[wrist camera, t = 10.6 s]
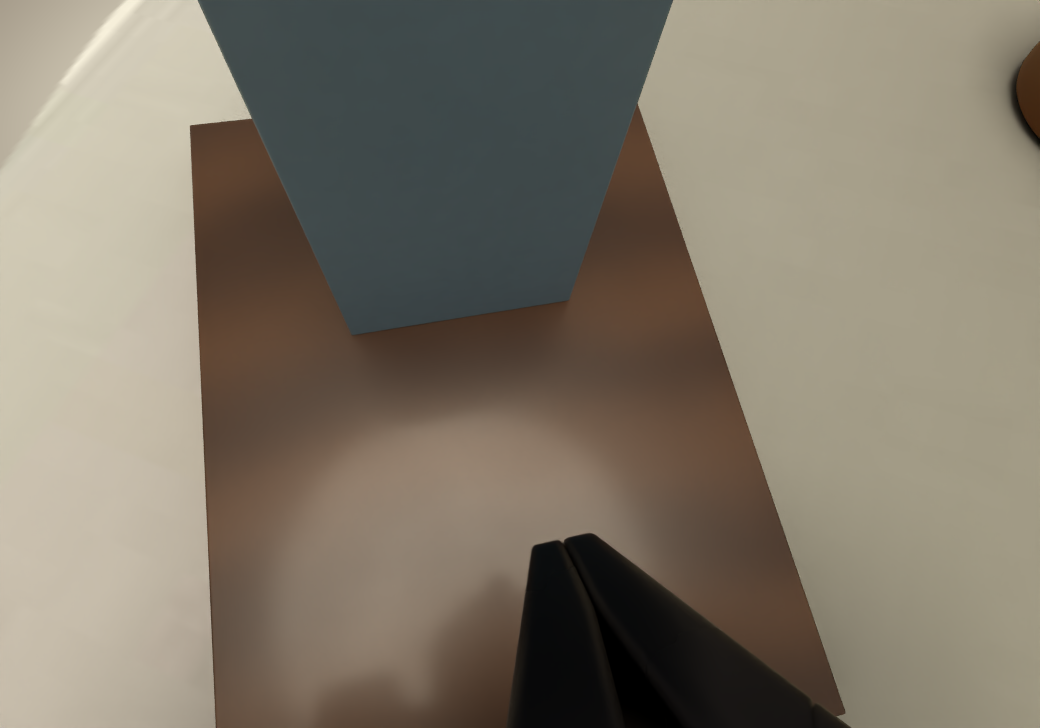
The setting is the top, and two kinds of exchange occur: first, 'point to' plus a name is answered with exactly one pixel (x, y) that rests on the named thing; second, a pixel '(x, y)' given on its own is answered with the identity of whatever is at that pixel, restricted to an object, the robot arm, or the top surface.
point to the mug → (1030, 89)
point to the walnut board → (460, 463)
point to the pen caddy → (441, 139)
